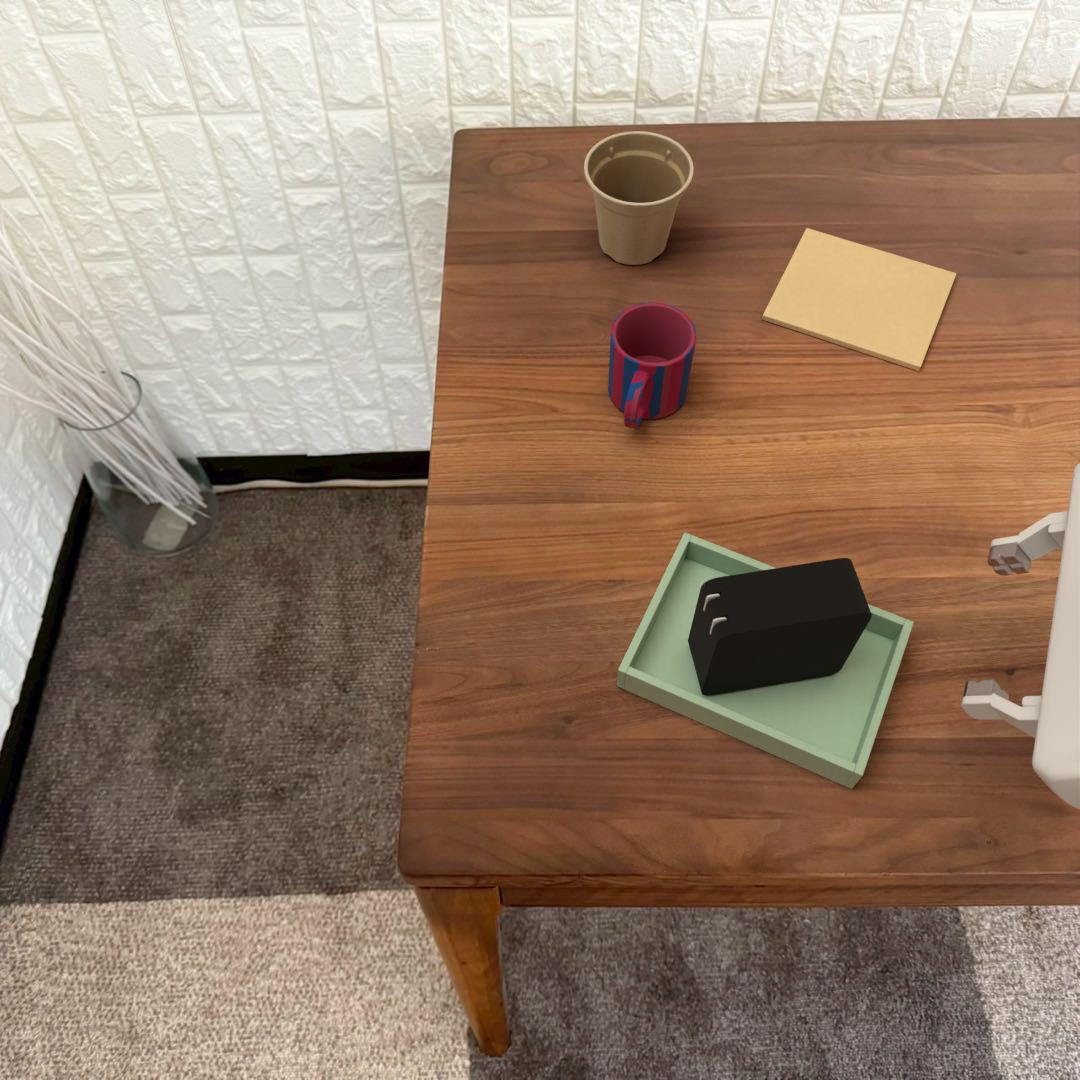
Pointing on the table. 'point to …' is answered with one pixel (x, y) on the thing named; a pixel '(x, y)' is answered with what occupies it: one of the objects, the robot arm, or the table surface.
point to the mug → (650, 361)
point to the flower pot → (636, 192)
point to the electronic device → (776, 625)
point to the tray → (773, 711)
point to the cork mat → (861, 298)
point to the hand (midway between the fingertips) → (980, 626)
